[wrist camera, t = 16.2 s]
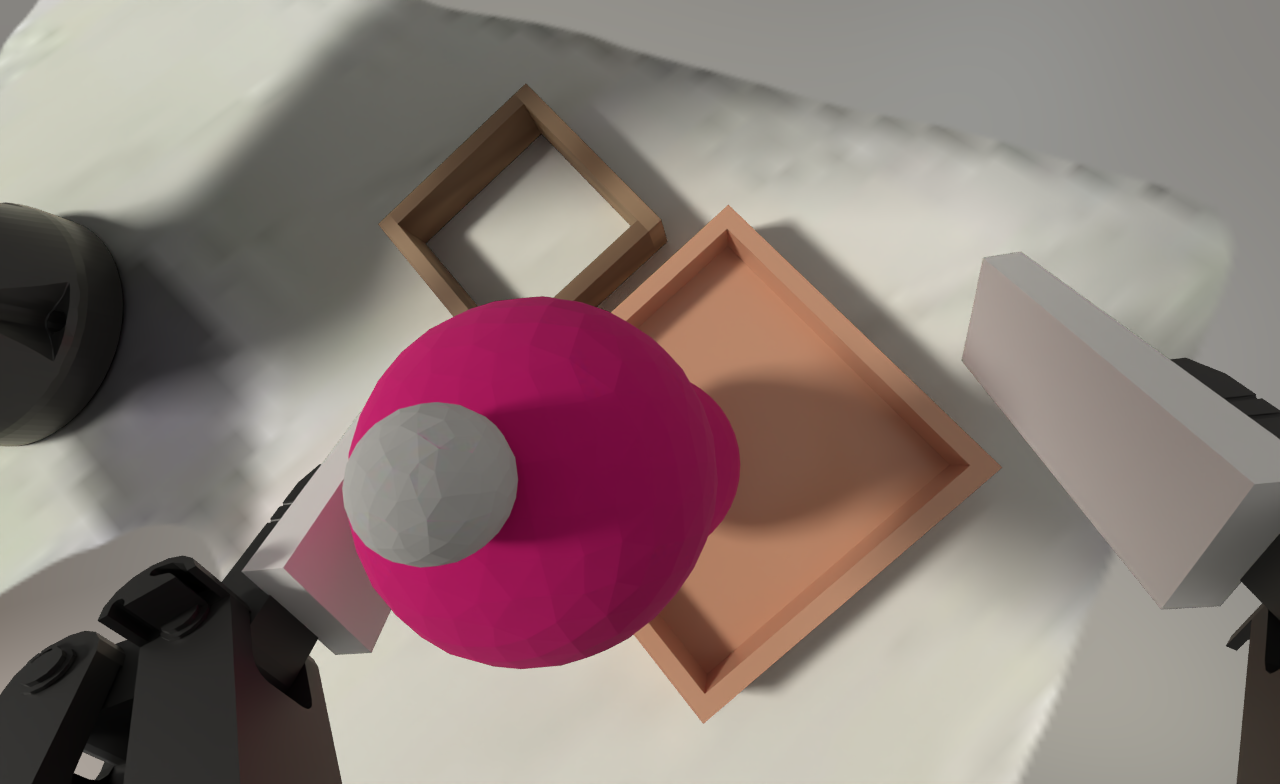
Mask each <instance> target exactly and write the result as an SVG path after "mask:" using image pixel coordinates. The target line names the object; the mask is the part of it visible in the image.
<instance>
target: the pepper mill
mask: <svg viewBox="0 0 1280 784" xmlns="http://www.w3.org/2000/svg"><path fill="white" fill-rule="evenodd" d="M739 478H740V454H739V447H738V443H737V439H736V435H735V433H734V430H733V428H732V426H731V424H730V421H729V420H728V418H727V416H726V415H725V413H724V412H723V410H722V409H721V407H720V406H719V405H718V404H717V403H716V402H715V401H714V400H713V399H712V397H710V396H709V395H708V394H707V393H705V392H704V391H703V390H702V389H701V388H699V387H697V386H696V385H694V384H693V383H691V382H690V381H689V380H688V378H687V376H686V374H685V372H684V371H683V369H682V368H681V367H680V366H679V365H678V364H677V363H676V362H675V360H674V359H673V358H672V357H671V356H670V355H669V354H668V353H667V352H666V351H665V350H664V349H663V348H662V347H661V346H660V345H659V344H658V343H657V342H656V341H655V340H654V339H653V338H651V337H650V336H648V335H647V334H645V333H644V332H642V331H641V330H639V329H638V328H636V327H635V326H633V325H632V324H630V323H629V322H627V321H625V320H623V319H621V318H620V317H618V316H616V315H614V314H612V313H610V312H609V311H606V310H603V309H600V308H597V307H594V306H591V305H588V304H585V303H582V302H577V301H570V300H564V299H557V298H551V297H544V296H541V297H529V298H519V299H510V300H501V301H494V302H491V303H488V304H485V305H481V306H478V307H475V308H472V309H469V310H467V311H465V312H463V313H461V314H458V315H456V316H454V317H453V318H451V319H449V320H447V321H445V322H443V323H441V324H439V325H437V326H435V327H433V328H431V329H429V330H428V331H427V332H426V333H424V334H423V335H422V336H421V337H419V338H418V339H417V340H416V341H415V342H413V343H412V344H411V345H410V346H408V347H407V348H406V349H405V350H404V351H402V352H401V354H400V355H399V356H398V357H397V358H396V360H395V361H394V362H393V363H392V364H391V366H390V367H389V368H388V369H387V370H386V372H385V373H384V374H383V376H382V377H381V378H380V379H379V381H378V382H377V384H376V386H375V388H374V390H373V392H372V394H371V395H370V397H369V399H368V401H367V403H366V405H365V407H364V408H363V410H362V412H361V414H360V416H359V420H358V423H357V426H356V430H355V433H354V436H353V440H352V443H351V447H350V450H349V456H348V462H347V464H346V469H345V475H344V481H343V487H342V492H343V501H344V508H345V510H346V513H347V516H348V520H349V524H350V528H351V532H352V536H353V540H354V544H355V548H356V552H357V554H358V556H359V558H360V561H361V563H362V565H363V567H364V569H365V571H366V574H367V576H368V578H369V580H370V582H371V584H372V587H373V588H374V589H375V590H376V592H377V593H378V594H379V595H380V596H381V598H382V599H383V600H384V601H385V603H386V604H387V605H388V606H389V607H390V609H391V610H392V611H393V612H394V613H395V615H396V616H398V617H399V618H400V619H401V620H402V621H403V622H404V623H406V624H407V625H408V626H409V627H410V628H411V629H413V630H414V631H415V632H416V633H417V634H418V635H419V636H421V637H422V638H424V639H425V640H427V641H429V642H430V643H432V644H434V645H435V646H437V647H439V648H440V649H442V650H444V651H445V652H447V653H449V654H451V655H455V656H458V657H462V658H466V659H469V660H473V661H476V662H480V663H483V664H487V665H491V666H495V667H506V668H516V669H526V668H538V667H549V666H561V665H564V664H568V663H571V662H574V661H577V660H581V659H584V658H587V657H590V656H592V655H595V654H598V653H600V652H602V651H605V650H607V649H609V648H611V647H613V646H615V645H617V644H619V643H621V642H622V641H624V640H626V639H628V638H630V637H631V636H632V635H633V634H635V633H636V632H637V631H639V630H640V629H641V628H643V627H644V626H645V625H647V624H648V623H649V622H650V621H652V620H653V619H654V618H655V617H656V616H657V615H658V614H659V613H660V612H661V611H662V610H663V608H664V607H665V606H666V605H667V604H668V603H669V602H670V601H671V600H672V598H673V597H674V596H675V595H676V594H677V593H678V591H679V590H680V588H681V587H682V585H683V584H684V582H685V581H686V579H687V578H688V576H689V575H690V573H691V572H692V570H693V569H694V567H695V565H696V563H697V561H698V558H699V556H700V554H701V552H702V550H703V548H704V545H705V543H706V541H707V538H708V536H709V535H710V534H711V533H712V532H713V531H714V530H715V529H716V528H717V527H718V525H719V524H720V523H721V522H722V521H723V519H724V518H725V516H726V514H727V513H728V511H729V509H730V508H731V505H732V503H733V500H734V498H735V495H736V492H737V488H738V484H739Z"/></svg>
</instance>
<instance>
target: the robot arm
mask: <svg viewBox="0 0 1280 784" xmlns="http://www.w3.org/2000/svg"><path fill="white" fill-rule="evenodd" d="M122 314H123V298H122V288H121V282H120V278H119V274H118V271H117V268H116V265H115V262H114V260H113V258H112V256H111V254H110V253H109V251H108V249H107V248H106V246H105V245H104V244H103V242H102V241H101V240H100V239H99V238H98V237H97V236H96V235H95V234H94V233H92V232H91V231H90V230H89V229H87V228H85V227H84V226H82V225H80V224H78V223H75V222H73V221H70V220H67V219H64V218H61V217H59V216H56V215H53V214H50V213H47V212H45V211H42V210H39V209H36V208H32V207H29V206H24V205H20V204H13V203H0V446H20V445H25V444H29V443H32V442H36V441H38V440H41V439H43V438H45V437H47V436H49V435H51V434H53V433H54V432H56V431H57V430H59V429H60V428H62V427H63V426H64V425H66V424H67V423H68V422H70V421H71V420H72V419H73V418H74V417H75V416H76V415H77V414H78V413H79V412H80V411H81V410H82V409H83V408H84V407H85V405H86V404H87V403H88V402H89V401H90V399H91V398H92V397H93V395H94V394H95V392H96V391H97V389H98V388H99V386H100V384H101V383H102V381H103V379H104V377H105V375H106V373H107V371H108V369H109V367H110V365H111V362H112V360H113V357H114V354H115V351H116V348H117V344H118V340H119V336H120V331H121V325H122ZM962 362H963V363H964V364H965V365H966V367H967V368H968V369H969V370H970V372H971V373H972V374H973V375H974V377H975V378H976V379H977V380H978V382H979V383H980V384H981V385H982V387H983V388H984V389H985V390H986V392H987V393H988V394H989V395H990V397H991V398H992V399H993V400H994V402H995V403H996V404H997V405H998V407H999V408H1000V409H1001V410H1002V412H1003V413H1004V414H1005V415H1006V416H1007V418H1008V419H1009V420H1010V421H1011V423H1012V424H1013V425H1014V426H1015V428H1016V429H1017V430H1018V431H1019V433H1020V434H1021V435H1022V436H1023V438H1024V439H1025V440H1026V441H1027V443H1028V444H1029V445H1030V446H1031V448H1032V449H1033V450H1034V451H1035V453H1036V454H1037V455H1038V456H1039V458H1040V459H1041V460H1042V461H1043V463H1044V464H1045V465H1046V466H1047V468H1048V469H1049V470H1050V471H1051V473H1052V474H1053V475H1054V476H1055V478H1056V479H1057V480H1058V481H1059V483H1060V484H1061V485H1062V486H1063V488H1064V489H1065V490H1066V491H1067V493H1068V494H1069V495H1070V496H1071V498H1072V499H1073V500H1074V501H1075V503H1076V504H1077V505H1078V506H1079V508H1080V509H1081V510H1082V511H1083V513H1084V514H1085V515H1086V516H1087V518H1088V519H1089V520H1090V521H1091V523H1092V524H1093V525H1094V526H1095V528H1096V529H1097V530H1098V531H1099V533H1100V534H1101V535H1102V536H1103V538H1104V539H1105V540H1106V541H1107V543H1108V544H1109V545H1110V546H1111V548H1112V549H1113V550H1114V551H1115V553H1116V554H1117V555H1118V556H1119V558H1120V559H1121V560H1122V561H1123V562H1124V564H1125V565H1126V566H1127V567H1128V569H1129V570H1130V571H1131V572H1132V574H1133V575H1134V576H1135V577H1136V579H1137V580H1138V581H1139V582H1140V584H1141V585H1142V586H1143V587H1144V589H1145V590H1146V591H1147V592H1148V594H1149V595H1150V596H1151V597H1152V599H1153V600H1154V601H1155V602H1156V604H1157V605H1158V606H1159V607H1160V609H1178V608H1196V607H1214V606H1221V605H1222V604H1223V603H1224V601H1225V600H1226V599H1227V598H1228V597H1229V596H1230V595H1231V593H1232V592H1233V591H1234V590H1235V589H1236V588H1237V586H1238V585H1239V584H1240V583H1241V582H1242V583H1243V584H1244V585H1245V586H1246V587H1247V588H1248V589H1249V590H1250V591H1251V592H1252V593H1253V594H1254V595H1255V596H1256V597H1257V598H1258V599H1259V600H1260V601H1261V602H1262V604H1261V605H1260V606H1259V608H1258V609H1257V610H1256V611H1255V612H1254V613H1253V614H1252V615H1251V616H1250V617H1249V618H1248V619H1247V620H1246V621H1245V622H1244V623H1243V624H1242V625H1241V627H1239V629H1238V630H1237V631H1236V632H1235V633H1234V634H1233V635H1232V636H1231V638H1230V640H1229V641H1228V643H1227V645H1226V646H1227V647H1229V648H1232V649H1234V650H1238V649H1239V648H1240V647H1241V646H1242V645H1243V644H1244V643H1245V642H1246V641H1247V640H1249V639H1250V644H1249V654H1248V666H1247V676H1246V688H1245V699H1244V710H1243V720H1242V732H1241V742H1240V753H1239V764H1238V776H1237V784H1280V410H1278V409H1277V408H1275V407H1274V406H1272V405H1271V404H1270V403H1268V402H1267V401H1265V400H1263V399H1257V398H1256V394H1255V393H1253V392H1252V391H1250V390H1249V389H1247V388H1246V387H1244V386H1243V385H1242V384H1240V383H1239V382H1237V381H1236V380H1234V379H1233V378H1231V377H1230V376H1228V375H1227V374H1225V373H1223V372H1220V371H1218V370H1215V369H1213V368H1210V367H1208V366H1205V365H1202V364H1200V363H1197V362H1195V361H1193V360H1190V359H1188V358H1180V359H1171V360H1170V359H1168V358H1167V357H1166V356H1164V355H1163V354H1161V353H1160V352H1159V351H1157V350H1156V349H1155V348H1153V347H1152V346H1150V345H1149V344H1148V343H1146V342H1145V341H1144V340H1142V339H1141V338H1139V337H1138V336H1137V335H1135V334H1134V333H1133V332H1131V331H1130V330H1128V329H1127V328H1126V327H1124V326H1123V325H1122V324H1120V323H1119V322H1117V321H1116V320H1115V319H1113V318H1112V317H1111V316H1109V315H1108V314H1106V313H1105V312H1104V311H1102V310H1101V309H1099V308H1098V307H1097V306H1095V305H1094V304H1093V303H1091V302H1090V301H1088V300H1087V299H1086V298H1084V297H1083V296H1082V295H1080V294H1079V293H1077V292H1076V291H1075V290H1073V289H1072V288H1071V287H1069V286H1068V285H1066V284H1065V283H1064V282H1062V281H1061V280H1060V279H1058V278H1057V277H1055V276H1054V275H1053V274H1051V273H1050V272H1048V271H1047V270H1046V269H1044V268H1043V267H1042V266H1040V265H1039V264H1037V263H1036V262H1035V261H1033V260H1032V259H1031V258H1029V257H1028V256H1026V255H1025V254H1024V253H1022V252H1016V253H1010V254H1003V255H997V256H991V257H984V258H983V260H982V265H981V270H980V275H979V280H978V284H977V289H976V294H975V299H974V304H973V308H972V313H971V318H970V323H969V327H968V332H967V337H966V342H965V347H964V351H963V356H962ZM362 410H363V409H362ZM361 412H362V411H361ZM361 412H360V413H359V415H358V416H357V417H356V419H355V420H354V421H353V423H352V424H351V425H350V427H349V428H348V429H347V431H346V432H345V433H344V435H343V436H342V437H341V439H340V440H339V441H338V443H337V444H336V445H335V447H334V448H333V450H332V451H331V452H330V454H329V455H328V456H327V458H326V459H325V460H324V462H323V463H322V464H319V465H318V466H317V467H316V468H315V469H313V470H312V471H311V472H310V473H309V474H308V475H306V476H305V477H304V478H303V479H302V480H301V481H299V482H298V483H297V485H296V486H295V487H294V489H293V490H292V491H291V493H290V494H289V495H288V496H287V498H286V499H285V500H284V502H283V506H280V507H279V508H278V509H277V511H276V512H275V513H274V515H273V516H272V517H271V522H270V523H267V524H266V525H265V526H264V528H263V529H262V530H261V532H260V533H259V534H258V536H257V537H256V538H255V539H254V541H253V542H252V543H251V545H250V546H249V547H248V549H247V550H246V551H245V552H244V554H243V555H242V556H241V558H240V559H239V560H238V562H237V563H236V564H235V566H234V567H233V568H232V569H231V571H230V572H229V573H228V575H227V576H226V577H225V579H224V580H223V581H222V582H220V581H219V580H218V579H217V578H216V577H215V576H213V575H212V574H211V573H210V572H209V571H207V570H206V569H205V568H204V567H203V566H201V565H200V564H199V563H198V562H197V561H195V560H194V559H193V558H190V557H186V556H179V557H174V558H168V559H166V560H164V561H162V562H159V563H157V564H155V565H153V566H151V567H149V568H148V569H146V570H144V571H143V572H141V573H140V574H138V575H137V576H135V577H133V578H132V579H131V580H130V581H129V582H128V583H126V584H125V585H124V586H123V587H122V588H121V589H119V590H118V591H117V592H116V593H115V595H114V596H113V597H112V598H111V599H110V600H109V602H108V603H107V604H106V605H105V607H104V608H103V610H102V612H101V614H100V617H99V619H98V621H99V622H101V623H102V624H104V625H106V626H107V627H108V628H110V629H112V630H113V631H115V632H116V633H118V634H119V635H121V636H123V637H124V638H126V639H127V640H125V641H122V642H120V643H117V644H114V643H112V642H111V641H109V640H107V639H106V638H104V637H103V636H101V635H100V634H98V633H96V632H90V631H84V632H80V633H76V634H73V635H70V636H68V637H66V638H64V639H62V640H60V641H58V642H57V643H55V644H53V645H50V646H49V647H47V648H46V649H44V650H43V651H42V652H41V653H38V654H37V655H36V656H35V657H33V658H32V659H31V660H30V661H29V662H28V663H27V664H26V666H24V667H23V668H22V669H21V670H20V671H19V672H18V673H17V674H16V675H15V676H14V677H13V678H12V680H11V681H10V682H9V684H8V685H7V686H6V688H5V689H4V690H3V692H2V693H1V695H0V784H342V781H341V776H340V771H339V766H338V761H337V757H336V752H335V747H334V742H333V737H332V732H331V727H330V722H329V718H328V713H327V708H326V703H325V698H324V693H323V688H322V683H321V679H320V674H319V669H318V666H317V664H316V663H315V661H314V659H313V658H311V657H310V656H309V654H310V652H311V650H312V649H313V647H314V645H315V643H316V641H317V640H319V641H320V642H322V643H323V644H324V645H325V646H326V647H327V648H328V649H330V650H331V651H332V652H333V653H334V654H335V655H340V654H358V653H371V652H372V650H373V648H374V646H375V644H376V642H377V639H378V637H379V635H380V633H381V631H382V628H383V626H384V624H385V622H386V620H387V617H388V615H389V613H390V611H391V609H390V607H389V606H388V605H387V604H386V603H385V601H384V600H383V599H382V598H381V596H380V595H379V594H378V593H377V592H376V590H375V589H374V588H373V587H372V584H371V582H370V580H369V578H368V576H367V574H366V571H365V569H364V567H363V565H362V563H361V561H360V558H359V556H358V554H357V552H356V548H355V544H354V540H353V536H352V532H351V528H350V524H349V520H348V516H347V513H346V510H345V508H344V501H343V492H342V487H343V481H344V475H345V469H346V464H347V462H348V456H349V450H350V447H351V443H352V440H353V436H354V433H355V430H356V426H357V423H358V420H359V416H360V414H361ZM82 752H84V753H86V754H88V755H91V756H93V757H95V758H97V759H100V760H102V761H104V765H103V767H102V770H101V772H100V773H99V775H98V776H97V778H96V779H95V780H89V779H87V778H84V777H82V776H79V775H77V774H74V771H75V769H76V766H77V764H78V762H79V759H80V757H81V755H82Z"/></svg>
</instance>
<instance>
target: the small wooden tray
mask: <svg viewBox="0 0 1280 784" xmlns="http://www.w3.org/2000/svg"><path fill="white" fill-rule="evenodd" d="M541 134H542V135H543V136H544V137H545V138H546V139H547V140H548V141H549V142H550V143H551V144H552V145H553V146H554V147H555V148H556V149H557V150H558V151H559V152H560V153H561V154H562V155H563V156H564V157H565V159H566V160H567V161H568V162H569V163H570V164H571V165H572V166H573V167H574V168H575V169H576V170H577V171H578V172H579V173H580V174H581V175H582V176H583V177H584V178H585V179H586V180H587V181H588V182H589V183H590V184H591V185H592V186H593V187H594V188H595V189H596V190H597V192H598V193H599V194H600V195H601V196H602V197H603V198H604V199H605V200H606V201H607V202H608V203H609V204H610V205H611V206H612V207H613V208H614V209H615V210H616V211H617V212H618V213H619V214H620V215H621V216H622V217H623V218H624V219H625V220H626V221H627V222H628V223H629V225H630V226H631V227H630V228H629V229H627V230H626V231H625V232H624V233H623V234H622V235H621V236H620V237H619V238H618V239H617V240H616V241H615V242H613V243H612V244H611V245H610V246H609V247H608V248H607V249H606V250H605V251H604V252H603V253H602V254H600V255H599V256H598V257H597V258H596V259H595V260H594V261H593V262H592V263H591V264H590V265H589V266H587V267H586V268H585V269H584V270H583V271H582V272H581V273H580V274H579V275H578V276H577V277H576V278H574V279H573V280H572V281H571V282H570V283H569V284H568V285H567V286H566V287H565V288H564V289H563V290H562V291H560V292H559V293H558V294H557V295H556V296H555V297H554V298H557V299H564V300H570V301H577V302H582V303H585V304H588V305H591V306H594V307H597V306H598V305H599V304H600V303H601V302H602V301H603V300H604V299H605V298H607V297H608V296H609V295H610V294H611V293H612V292H613V291H614V290H615V289H616V288H617V287H619V286H620V285H621V284H622V283H623V282H624V281H625V280H626V279H627V278H628V277H629V276H630V275H632V274H633V273H634V272H635V271H636V270H637V269H638V268H639V267H640V266H641V265H642V264H644V263H645V262H646V261H647V260H648V259H649V258H650V257H651V256H652V255H653V254H654V253H656V252H657V251H658V250H659V249H660V248H661V247H662V246H663V245H664V244H665V243H666V242H667V238H666V234H665V231H664V228H663V224H662V221H661V219H660V218H659V217H658V216H657V215H656V214H655V213H654V212H653V211H652V210H651V209H650V208H649V207H648V206H647V205H646V204H645V203H644V202H643V201H642V200H641V199H640V198H639V197H638V196H637V195H636V194H635V193H634V192H633V191H632V190H631V189H630V188H629V187H628V186H627V185H626V184H625V183H624V182H623V181H622V180H621V179H620V178H619V177H618V176H617V175H616V174H615V173H614V172H613V171H612V170H611V169H610V168H609V167H608V166H607V165H606V164H605V163H604V162H603V161H602V160H601V159H600V158H599V157H598V156H597V155H596V154H595V153H594V152H593V150H592V149H591V148H590V147H589V146H588V145H587V144H586V143H585V142H584V141H583V140H582V139H581V138H580V137H579V136H578V135H577V134H576V133H575V132H574V131H573V130H572V129H571V128H570V127H569V126H568V125H567V124H566V123H565V122H564V121H563V120H562V119H561V118H560V117H559V116H558V115H557V114H556V113H555V112H554V111H553V110H552V109H551V108H550V107H549V106H548V105H547V104H546V103H545V102H544V101H543V100H542V99H541V98H540V97H539V96H538V95H537V94H536V93H535V92H534V91H533V90H532V89H531V88H530V87H529V86H528V85H527V84H525V85H524V86H523V87H521V88H520V89H519V90H518V91H517V92H516V93H515V94H514V95H513V96H512V97H511V98H510V99H509V100H508V101H507V102H506V103H505V104H504V105H503V106H502V107H500V108H499V109H498V110H497V111H496V112H495V113H494V114H493V115H492V116H491V117H490V118H489V119H488V120H487V121H486V122H485V123H484V124H483V125H482V126H481V127H480V128H478V129H477V130H476V131H475V132H474V133H473V134H472V135H471V136H470V137H469V138H468V139H467V140H466V141H465V142H464V143H463V144H462V145H461V146H460V147H459V148H457V149H456V150H455V151H454V152H453V153H452V154H451V155H450V156H449V157H448V158H447V159H446V160H445V161H444V162H443V163H442V164H441V165H440V166H439V167H438V168H437V169H435V170H434V171H433V172H432V173H431V174H430V175H429V176H428V177H427V178H426V179H425V180H424V181H423V182H422V183H421V184H420V185H419V186H418V187H417V188H416V189H415V190H413V191H412V192H411V193H410V194H409V195H408V196H407V197H406V198H405V199H404V200H403V201H402V202H401V203H400V204H399V205H398V206H397V207H396V208H395V209H394V210H392V211H391V212H390V213H389V214H388V215H387V216H386V217H385V218H384V219H383V220H382V221H381V222H380V223H379V224H378V225H379V226H380V227H381V228H382V230H383V231H384V232H385V233H386V235H387V236H388V237H389V238H390V240H391V241H392V242H393V243H394V244H395V246H396V247H397V248H398V249H399V251H400V252H401V253H402V254H403V255H404V257H405V258H406V259H407V260H408V262H409V263H410V264H411V265H412V266H413V268H414V269H415V270H416V271H417V273H418V274H419V275H420V276H421V277H422V279H423V280H424V281H425V282H426V284H427V285H428V286H429V287H430V288H431V290H432V291H433V292H434V293H435V295H436V296H437V297H438V298H439V299H440V301H441V302H442V303H443V304H444V306H445V307H446V308H447V309H448V310H449V312H450V313H451V314H452V315H453V317H454V316H456V315H458V314H461V313H463V312H465V311H467V310H469V309H472V308H475V307H478V306H477V305H476V303H475V302H474V301H473V300H472V299H471V298H470V296H469V295H468V294H467V293H466V292H465V290H464V289H463V288H462V287H461V286H460V284H459V283H458V282H457V281H456V280H455V278H454V277H453V276H452V275H451V274H450V272H449V271H448V270H447V269H446V268H445V266H444V265H443V264H442V263H441V262H440V260H439V259H438V258H437V257H436V256H435V254H434V253H433V252H432V251H431V250H430V248H429V247H428V246H427V245H426V244H425V243H426V242H427V241H428V240H430V239H431V238H432V237H433V236H434V235H435V234H436V233H437V232H438V231H439V230H440V229H441V228H442V227H443V226H444V225H445V224H446V223H447V222H449V221H450V220H451V219H452V218H453V217H454V216H455V215H456V214H457V213H458V212H459V211H460V210H461V209H462V208H463V207H464V206H465V205H467V204H468V203H469V202H470V201H471V200H472V199H473V198H474V197H475V196H476V195H477V194H478V193H479V192H480V191H481V190H482V189H483V188H484V187H486V186H487V185H488V184H489V183H490V182H491V181H492V180H493V179H494V178H495V177H496V176H497V175H498V174H499V173H500V172H501V171H502V170H504V169H505V168H506V167H507V166H508V165H509V164H510V163H511V162H512V161H513V160H514V159H515V158H516V157H517V156H518V155H519V154H520V153H521V152H523V151H524V150H525V149H526V148H527V147H528V146H529V145H530V144H531V143H532V142H533V141H534V140H535V139H536V138H537V137H538V136H539V135H541Z"/></svg>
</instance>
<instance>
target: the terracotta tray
mask: <svg viewBox="0 0 1280 784" xmlns="http://www.w3.org/2000/svg"><path fill="white" fill-rule="evenodd" d="M611 313H612V314H614V315H616V316H618V317H620V318H621V319H623V320H625V321H627V322H629V323H630V324H632V325H633V326H635V327H636V328H638V329H639V330H641V331H642V332H644V333H645V334H647V335H648V336H650V337H651V338H653V339H654V340H655V341H656V342H657V343H658V344H659V345H660V346H661V347H662V348H663V349H664V350H665V351H666V352H667V353H668V354H669V355H670V356H671V357H672V358H673V359H674V360H675V362H676V363H677V364H678V365H679V366H680V367H681V368H682V369H683V371H684V372H685V374H686V376H687V378H688V380H689V381H690V382H691V383H693V384H694V385H696V386H697V387H699V388H701V389H702V390H703V391H704V392H705V393H707V394H708V395H709V396H710V397H712V399H713V400H714V401H715V402H716V403H717V404H718V405H719V406H720V407H721V409H722V410H723V412H724V413H725V415H726V416H727V418H728V420H729V421H730V424H731V426H732V428H733V430H734V433H735V435H736V439H737V443H738V447H739V454H740V478H739V484H738V488H737V492H736V495H735V498H734V500H733V503H732V505H731V508H730V509H729V511H728V513H727V514H726V516H725V518H724V519H723V521H722V522H721V523H720V524H719V525H718V527H717V528H716V529H715V530H714V531H713V532H712V533H711V534H710V535H709V536H708V538H707V541H706V543H705V545H704V548H703V550H702V552H701V554H700V556H699V558H698V561H697V563H696V565H695V567H694V569H693V570H692V572H691V573H690V575H689V576H688V578H687V579H686V581H685V582H684V584H683V585H682V587H681V588H680V590H679V591H678V593H677V594H676V595H675V596H674V597H673V598H672V600H671V601H670V602H669V603H668V604H667V605H666V606H665V607H664V608H663V610H662V611H661V612H660V613H659V614H658V615H657V616H656V617H655V618H654V619H653V620H652V621H650V622H649V623H648V624H647V625H645V626H644V627H643V628H641V629H640V630H639V631H637V632H636V633H635V634H634V635H635V637H636V638H637V639H638V641H639V642H640V643H641V644H642V646H643V647H644V648H645V649H646V651H647V652H648V653H649V655H650V656H651V657H652V658H653V660H654V661H655V662H656V664H657V665H658V666H659V667H660V669H661V670H662V671H663V673H664V674H665V675H666V676H667V678H668V679H669V680H670V682H671V683H672V684H673V685H674V687H675V688H676V689H677V691H678V692H679V693H680V694H681V696H682V697H683V698H684V700H685V701H686V702H687V703H688V705H689V706H690V707H691V709H692V710H693V711H694V712H695V714H696V715H697V716H698V718H699V719H700V720H701V721H702V723H703V724H704V723H705V722H706V721H707V720H708V719H709V718H711V717H712V716H713V715H714V714H715V713H716V712H718V711H719V710H720V709H721V708H722V707H723V706H725V705H726V704H727V703H728V702H729V701H730V700H732V699H733V698H734V697H735V696H736V695H737V694H739V693H740V692H741V691H742V690H743V689H744V688H746V687H747V686H748V685H749V684H750V683H751V682H753V681H754V680H755V679H756V678H757V677H758V676H760V675H761V674H762V673H763V672H764V671H765V670H767V669H768V668H769V667H770V666H771V665H772V664H774V663H775V662H776V661H777V660H778V659H779V658H781V657H782V656H783V655H784V654H785V653H786V652H788V651H789V650H790V649H791V648H792V647H793V646H795V645H796V644H797V643H798V642H799V641H800V640H802V639H803V638H804V637H805V636H806V635H807V634H809V633H810V632H811V631H812V630H813V629H814V628H816V627H817V626H818V625H819V624H820V623H821V622H823V621H824V620H825V619H826V618H827V617H828V616H830V615H831V614H832V613H833V612H834V611H835V610H837V609H838V608H839V607H840V606H841V605H842V604H844V603H845V602H846V601H847V600H848V599H849V598H851V597H852V596H853V595H854V594H855V593H856V592H858V591H859V590H860V589H861V588H862V587H863V586H865V585H866V584H867V583H868V582H869V581H870V580H872V579H873V578H874V577H875V576H876V575H877V574H879V573H880V572H881V571H882V570H883V569H884V568H886V567H887V566H888V565H889V564H890V563H891V562H893V561H894V560H895V559H896V558H897V557H898V556H900V555H901V554H902V553H903V552H904V551H905V550H907V549H908V548H909V547H910V546H911V545H912V544H914V543H915V542H916V541H917V540H918V539H919V538H921V537H922V536H923V535H924V534H925V533H926V532H928V531H929V530H930V529H931V528H932V527H933V526H935V525H936V524H937V523H938V522H939V521H940V520H942V519H943V518H944V517H945V516H946V515H947V514H949V513H950V512H951V511H952V510H953V509H954V508H956V507H957V506H958V505H959V504H960V503H961V502H963V501H964V500H965V499H966V498H967V497H968V496H970V495H971V494H972V493H973V492H974V491H975V490H977V489H978V488H979V487H980V486H981V485H982V484H984V483H985V482H986V481H987V480H988V479H989V478H991V477H992V476H993V475H994V474H995V473H996V472H998V471H999V470H1000V469H1001V468H1002V467H1001V466H1000V465H999V464H998V463H997V462H996V461H995V460H994V459H993V458H992V457H991V456H990V455H989V454H988V453H987V452H986V451H984V450H983V449H982V448H981V447H980V446H979V445H978V444H977V443H976V442H975V441H974V440H973V439H972V438H971V437H970V436H969V435H968V434H967V433H966V432H965V431H964V430H963V429H962V428H961V427H959V426H958V425H957V424H956V423H955V422H954V421H953V420H952V419H951V418H950V417H949V416H948V415H947V414H946V413H945V412H944V411H943V410H942V409H941V408H940V407H939V406H938V405H937V404H936V403H934V402H933V401H932V400H931V399H930V398H929V397H928V396H927V395H926V394H925V393H924V392H923V391H922V390H921V389H920V388H919V387H918V386H917V385H916V384H915V383H914V382H913V381H912V380H910V379H909V378H908V377H907V376H906V375H905V374H904V373H903V372H902V371H901V370H900V369H899V368H898V367H897V366H896V365H895V364H894V363H893V362H892V361H891V360H890V359H889V358H888V357H887V356H885V355H884V354H883V353H882V352H881V351H880V350H879V349H878V348H877V347H876V346H875V345H874V344H873V343H872V342H871V341H870V340H869V339H868V338H867V337H866V336H865V335H864V334H863V333H862V332H860V331H859V330H858V329H857V328H856V327H855V326H854V325H853V324H852V323H851V322H850V321H849V320H848V319H847V318H846V317H845V316H844V315H843V314H842V313H841V312H840V311H839V310H838V309H836V308H835V307H834V306H833V305H832V304H831V303H830V302H829V301H828V300H827V299H826V298H825V297H824V296H823V295H822V294H821V293H820V292H819V291H818V290H817V289H816V288H815V287H814V286H813V285H811V284H810V283H809V282H808V281H807V280H806V279H805V278H804V277H803V276H802V275H801V274H800V273H799V272H798V271H797V270H796V269H795V268H794V267H793V266H792V265H791V264H790V263H789V262H788V261H786V260H785V259H784V258H783V257H782V256H781V255H780V254H779V253H778V252H777V251H776V250H775V249H774V248H773V247H772V246H771V245H770V244H769V243H768V242H767V241H766V240H765V239H764V238H762V237H761V236H760V235H759V234H758V233H757V232H756V231H755V230H754V229H753V228H752V227H751V226H750V225H749V224H748V223H747V222H746V221H745V220H744V219H743V218H742V217H741V216H740V215H739V214H737V213H736V212H735V211H734V210H733V209H732V208H731V207H730V206H729V205H728V206H726V207H725V208H724V209H723V210H722V211H721V212H720V213H719V214H718V215H717V216H715V217H714V218H713V219H712V220H711V221H710V222H709V223H708V224H707V225H706V226H705V227H703V228H702V229H701V230H700V231H699V232H698V233H697V234H696V235H695V236H694V237H693V238H691V239H690V240H689V241H688V242H687V243H686V244H685V245H684V246H683V247H682V248H681V249H679V250H678V251H677V252H676V253H675V254H674V255H673V256H672V257H671V258H670V259H669V260H667V261H666V262H665V263H664V264H663V265H662V266H661V267H660V268H659V269H658V270H657V271H655V272H654V273H653V274H652V275H651V276H650V277H649V278H648V279H647V280H646V281H645V282H643V283H642V284H641V285H640V286H639V287H638V288H637V289H636V290H635V291H634V292H633V293H631V294H630V295H629V296H628V297H627V298H626V299H625V300H624V301H623V302H622V303H621V304H619V305H618V306H617V307H616V308H615V309H614V310H613V311H612V312H611Z"/></svg>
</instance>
